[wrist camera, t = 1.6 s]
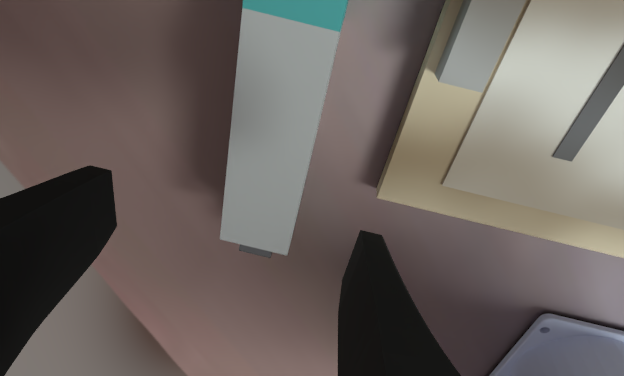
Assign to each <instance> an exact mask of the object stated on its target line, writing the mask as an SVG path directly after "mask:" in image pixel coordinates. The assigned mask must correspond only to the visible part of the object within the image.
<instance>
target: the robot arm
mask: <svg viewBox="0 0 624 376" xmlns="http://www.w3.org/2000/svg"><path fill="white" fill-rule="evenodd" d="M116 227H117V222H116V212H115V202H114V192H113V182H112V173H111V170H107V169H103V168H98V167H94V166H87V167H84V168H81V169H78V170H75V171H72V172H69V173H67V174H64V175H61V176H59V177H56V178H53V179H51V180H48V181H46V182H43V183H40V184H38V185H35V186H33V187H30V188H27V189H25V190H22V191H19V192H17V193H14V194H11V195H9V196H6V197H3V198H0V376H4V375H5V374H6V372H7V371H8V369H9V368H10V366H11V365H12V363H13V362H14V360H15V359H16V358H17V356H18V355H19V353H20V352H21V350H22V349H23V347H24V346H25V344H26V343H27V341H28V340H29V339H30V337H31V336H32V334H33V333H34V332H35V331H36V329H37V328H38V327H39V326H40V324H41V323H42V322H43V320H44V319H45V318H46V317H47V316H48V314H49V313H50V312H51V311H52V310H53V309H54V307H55V306H56V305H57V304H58V303H59V302H60V300H61V299H62V298H63V297H64V296H65V294H66V293H67V292H68V291H69V290H70V289H71V287H72V286H73V285H74V284H75V283H76V282H77V281H78V279H79V278H80V277H81V276H82V275H83V273H84V272H85V271H86V270H87V269H88V267H89V266H90V265H91V264H92V263H93V261H94V260H95V259H96V258H97V256H98V255H99V254H100V252H101V251H102V249H103V248H104V246H105V245H106V243H107V242H108V240H109V238H110V237H111V235H112V233H113V232H114V230H115V228H116ZM338 376H461V375H460V374H459V373H458V371H457V370H456V369H455V367H454V366H453V365H452V363H451V362H450V360H449V359H448V357H447V356H446V354H445V353H444V352H443V350H442V349H441V347H440V346H439V344H438V343H437V341H436V340H435V338H434V336H433V335H432V333H431V332H430V330H429V328H428V327H427V325H426V323H425V322H424V320H423V318H422V316H421V315H420V313H419V311H418V309H417V308H416V306H415V304H414V302H413V300H412V298H411V296H410V294H409V293H408V291H407V289H406V287H405V285H404V283H403V281H402V279H401V277H400V275H399V273H398V270H397V268H396V266H395V264H394V262H393V259H392V257H391V255H390V253H389V250H388V248H387V246H386V243H385V241H384V239H383V237H382V235H379V234H374V233H370V232H366V231H362V230H360V233H359V236H358V238H357V241H356V244H355V247H354V249H353V252H352V255H351V258H350V260H349V263H348V266H347V268H346V271H345V274H344V277H343V279H342V287H341V294H340V303H339V311H338ZM489 376H624V331H621V330H617V329H613V328H608V327H604V326H600V325H596V324H592V323H588V322H583V321H579V320H575V319H571V318H567V317H563V316H558V315H554V314H548V313H547V314H543V315H541V316H539V317H538V319H537V320H536V321H535V322H534V323H533V324H532V326H531V327H530V328H529V329H528V330H527V331H526V333H525V334H524V335H523V336H522V337H521V339H520V340H519V341H518V342H517V343H516V344H515V346H514V347H513V348H512V349H511V350H510V352H509V353H508V354H507V355H506V356H505V357H504V359H503V360H502V361H501V362H500V363H499V364H498V366H497V367H496V368H495V369H494V370H493V372H492V373H491V374H490V375H489Z"/></svg>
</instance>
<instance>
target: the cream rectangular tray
mask: <svg viewBox="0 0 624 376" xmlns="http://www.w3.org/2000/svg"><path fill="white" fill-rule="evenodd" d="M376 191H377V198H378V199H382V200H387V201H391V202H395V203H399V204H403V205H407V206H411V207H415V208H420V209H424V210H428V211H432V212H436V213H440V214H444V215H448V216H452V217H457V218H461V219H465V220H469V221H473V222H477V223H481V224H485V225H490V226H494V227H498V228H502V229H506V230H510V231H514V232H518V233H522V234H527V235H531V236H535V237H539V238H543V239H547V240H551V241H555V242H560V243H564V244H568V245H572V246H576V247H580V248H584V249H588V250H592V251H597V252H601V253H605V254H609V255H613V256H617V257H621V258H624V0H446V1H445V3H444V6H443V9H442V11H441V14H440V17H439V20H438V22H437V25H436V28H435V31H434V33H433V36H432V39H431V41H430V44H429V47H428V50H427V52H426V55H425V58H424V61H423V63H422V66H421V69H420V71H419V74H418V77H417V80H416V82H415V85H414V88H413V90H412V93H411V96H410V99H409V101H408V104H407V107H406V110H405V112H404V115H403V118H402V120H401V123H400V126H399V129H398V131H397V134H396V137H395V140H394V142H393V145H392V148H391V150H390V153H389V156H388V159H387V161H386V164H385V167H384V169H383V172H382V175H381V178H380V180H379V183H378V186H377V189H376Z"/></svg>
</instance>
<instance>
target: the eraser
mask: <svg viewBox="0 0 624 376" xmlns="http://www.w3.org/2000/svg"><path fill="white" fill-rule="evenodd" d="M347 4H348V0H243V7H242V17H241V27H240V38H239V48H238V58H237V68H236V79H235V89H234V99H233V109H232V120H231V130H230V140H229V150H228V161H227V171H226V181H225V191H224V202H223V212H222V222H221V232H220V239H221V240H225V241H229V242H233V243H237V244H240V247H239V251H243V252H247V253H252V254H256V255H260V256H264V257H268V258H270V257H271V254H272V252H274V253H279V254H283V255H287V254H288V250H289V247H290V243H291V239H292V235H293V231H294V227H295V223H296V219H297V215H298V211H299V206H300V202H301V198H302V194H303V190H304V185H305V181H306V177H307V173H308V169H309V164H310V160H311V156H312V152H313V148H314V143H315V139H316V135H317V131H318V127H319V122H320V118H321V114H322V110H323V105H324V101H325V97H326V93H327V89H328V84H329V80H330V76H331V72H332V68H333V63H334V59H335V55H336V51H337V47H338V42H339V38H340V34H341V30H342V26H343V21H344V17H345V13H346V9H347Z"/></svg>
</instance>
